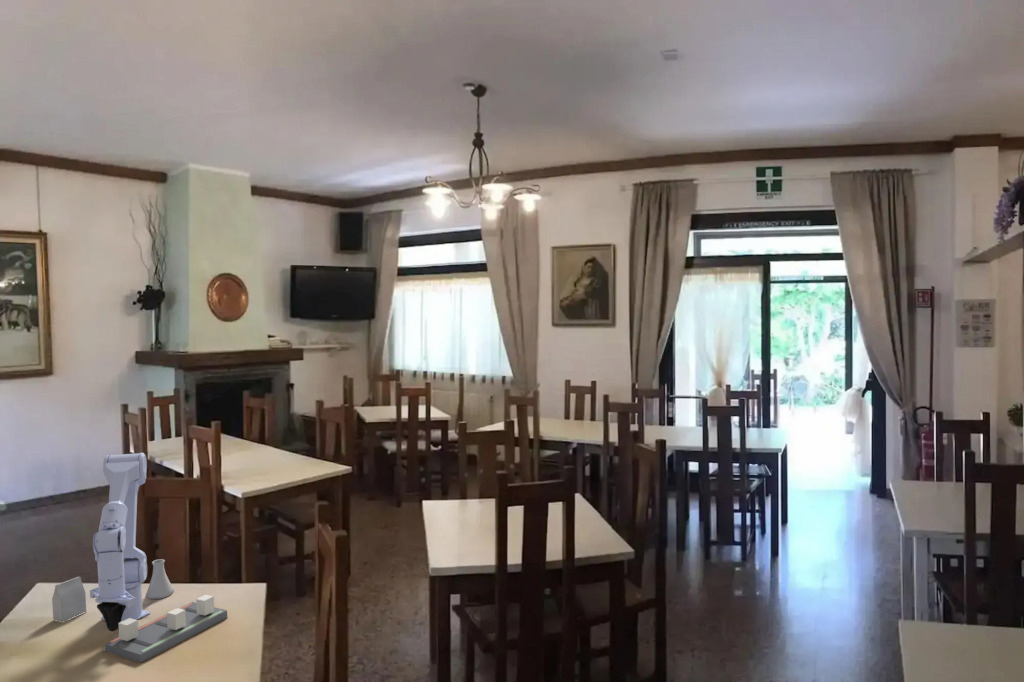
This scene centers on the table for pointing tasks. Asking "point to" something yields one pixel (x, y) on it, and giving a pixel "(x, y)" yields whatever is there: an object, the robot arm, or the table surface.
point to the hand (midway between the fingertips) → (114, 629)
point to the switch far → (205, 604)
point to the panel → (163, 634)
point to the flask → (159, 582)
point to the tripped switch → (128, 629)
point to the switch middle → (176, 618)
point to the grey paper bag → (68, 599)
